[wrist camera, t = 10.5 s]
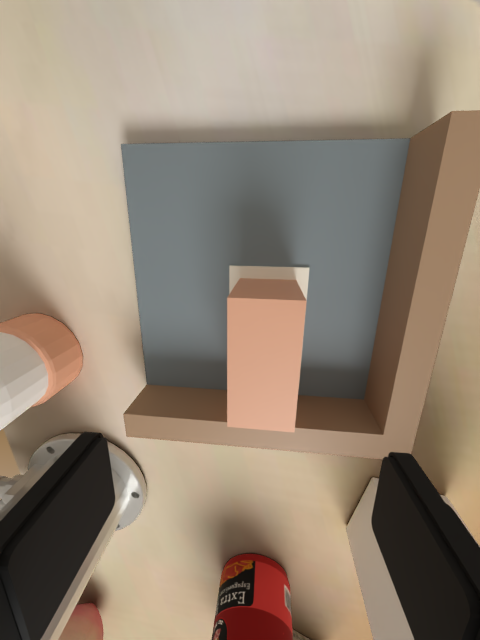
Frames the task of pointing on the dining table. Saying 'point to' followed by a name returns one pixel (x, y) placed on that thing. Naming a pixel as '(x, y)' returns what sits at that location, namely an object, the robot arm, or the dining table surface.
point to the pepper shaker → (34, 362)
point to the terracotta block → (264, 353)
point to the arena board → (301, 277)
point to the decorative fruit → (83, 624)
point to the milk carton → (377, 572)
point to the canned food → (253, 601)
